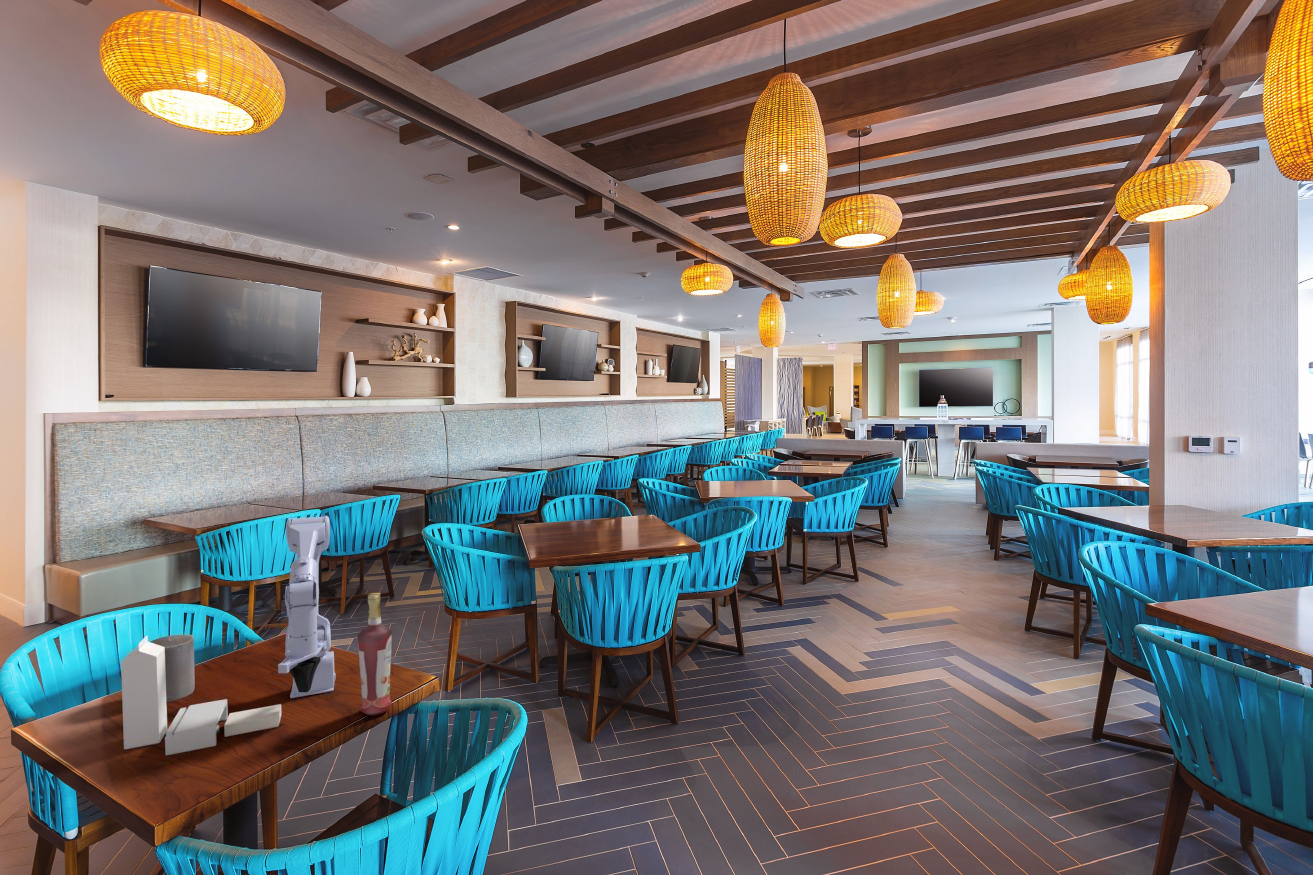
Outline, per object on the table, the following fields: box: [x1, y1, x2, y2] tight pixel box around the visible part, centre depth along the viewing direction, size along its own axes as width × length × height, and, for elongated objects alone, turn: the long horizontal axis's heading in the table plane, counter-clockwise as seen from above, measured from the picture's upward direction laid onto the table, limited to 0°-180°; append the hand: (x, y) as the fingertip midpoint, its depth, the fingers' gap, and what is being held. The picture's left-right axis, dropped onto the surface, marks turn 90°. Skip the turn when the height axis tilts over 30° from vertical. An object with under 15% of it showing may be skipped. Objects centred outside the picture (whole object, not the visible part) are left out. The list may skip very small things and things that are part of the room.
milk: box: [120, 635, 168, 750], centre depth 131 cm, size 6×6×22 cm
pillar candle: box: [149, 634, 196, 703], centre depth 152 cm, size 10×10×15 cm
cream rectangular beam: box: [224, 703, 282, 738], centre depth 137 cm, size 10×6×2 cm, turn 116°
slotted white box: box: [164, 698, 229, 756], centre depth 133 cm, size 8×13×4 cm, turn 26°
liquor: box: [357, 592, 393, 717], centre depth 143 cm, size 7×7×28 cm
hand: (304, 690), depth 142 cm, fingers closed
